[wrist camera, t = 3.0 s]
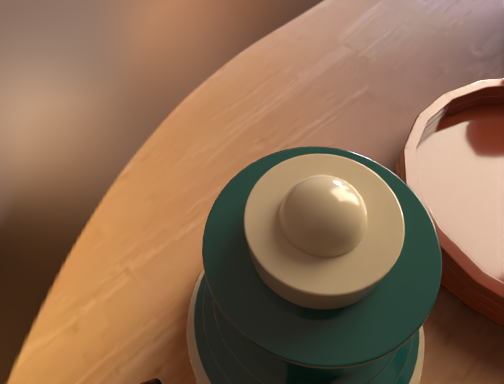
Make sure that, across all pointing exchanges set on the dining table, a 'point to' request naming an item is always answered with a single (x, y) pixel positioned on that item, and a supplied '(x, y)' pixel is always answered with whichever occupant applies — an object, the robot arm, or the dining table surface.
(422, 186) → the tagine base
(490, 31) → the dining table surface
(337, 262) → the tagine lid
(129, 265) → the dining table surface
